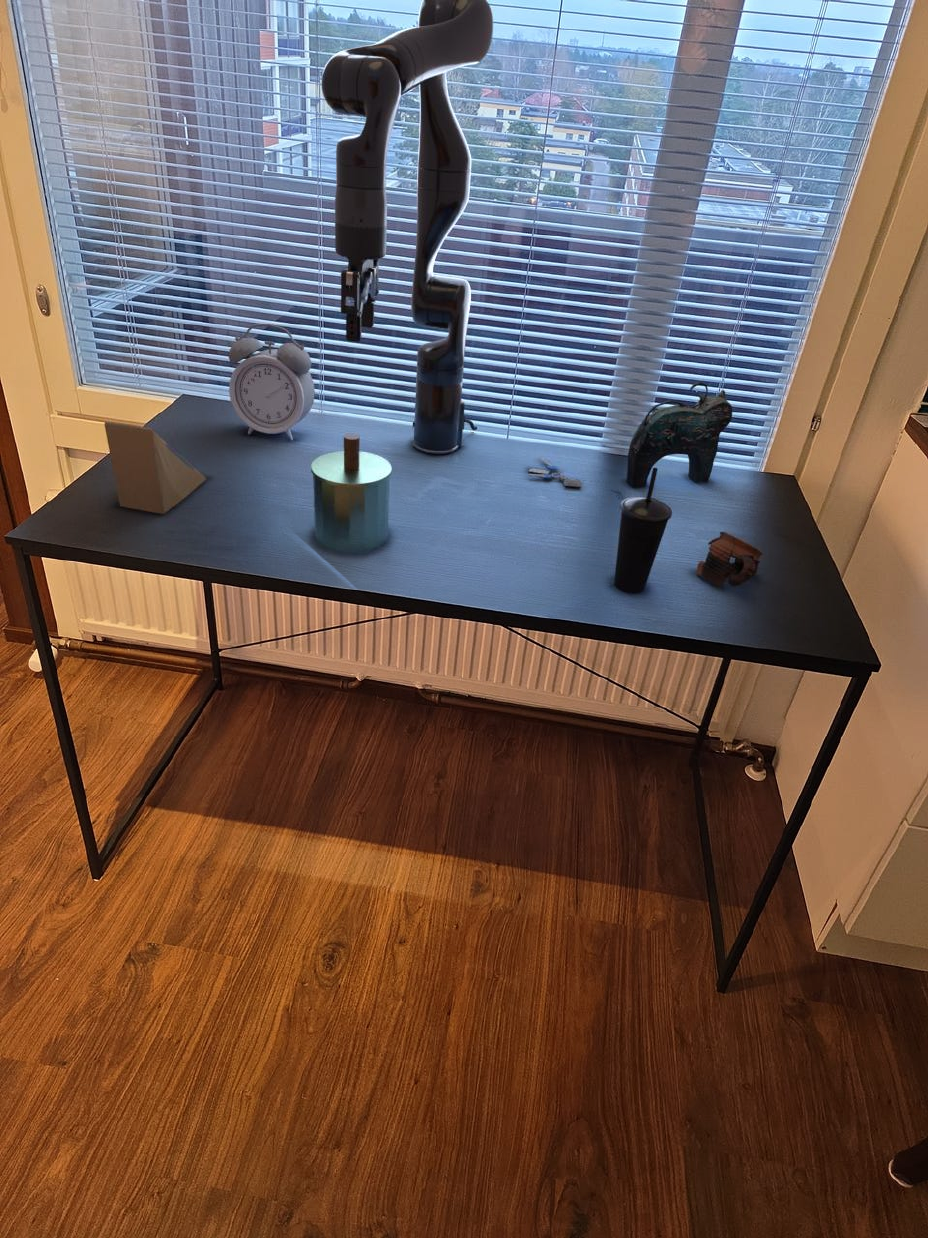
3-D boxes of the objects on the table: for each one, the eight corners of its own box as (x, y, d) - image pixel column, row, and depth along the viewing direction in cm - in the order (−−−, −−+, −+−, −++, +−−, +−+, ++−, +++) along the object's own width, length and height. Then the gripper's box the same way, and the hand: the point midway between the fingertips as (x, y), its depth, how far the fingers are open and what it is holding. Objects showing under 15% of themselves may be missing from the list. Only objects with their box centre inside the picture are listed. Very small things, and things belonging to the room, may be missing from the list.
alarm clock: (228, 434, 167) (218, 324, 155) (244, 420, 175) (236, 313, 162) (306, 445, 166) (302, 335, 154) (319, 430, 173) (317, 323, 161)
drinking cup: (658, 581, 132) (686, 465, 121) (646, 603, 126) (675, 484, 115) (612, 568, 134) (636, 453, 123) (599, 589, 128) (622, 471, 117)
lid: (364, 452, 137) (365, 416, 134) (406, 480, 129) (408, 443, 126) (296, 466, 131) (295, 429, 127) (336, 497, 123) (336, 458, 119)
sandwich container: (209, 478, 150) (200, 398, 142) (165, 514, 138) (152, 429, 129) (165, 470, 152) (154, 391, 143) (118, 505, 139) (103, 420, 131)
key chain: (587, 486, 160) (588, 482, 159) (554, 494, 155) (555, 490, 155) (542, 459, 169) (542, 456, 168) (510, 466, 165) (511, 463, 164)
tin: (363, 514, 143) (363, 449, 136) (400, 543, 136) (403, 476, 129) (302, 530, 137) (300, 463, 130) (338, 561, 129) (337, 492, 123)
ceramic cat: (703, 471, 170) (728, 376, 159) (721, 485, 165) (747, 387, 154) (618, 478, 164) (638, 379, 153) (633, 492, 159) (655, 391, 148)
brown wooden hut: (681, 566, 137) (707, 522, 136) (723, 588, 141) (749, 546, 139) (718, 588, 126) (746, 540, 125) (763, 611, 130) (791, 565, 128)
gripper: (375, 230, 114) (373, 348, 123) (396, 215, 125) (393, 324, 135) (322, 225, 114) (324, 343, 123) (348, 210, 126) (348, 319, 135)
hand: (360, 333), depth 129 cm, fingers open, 8 cm apart
